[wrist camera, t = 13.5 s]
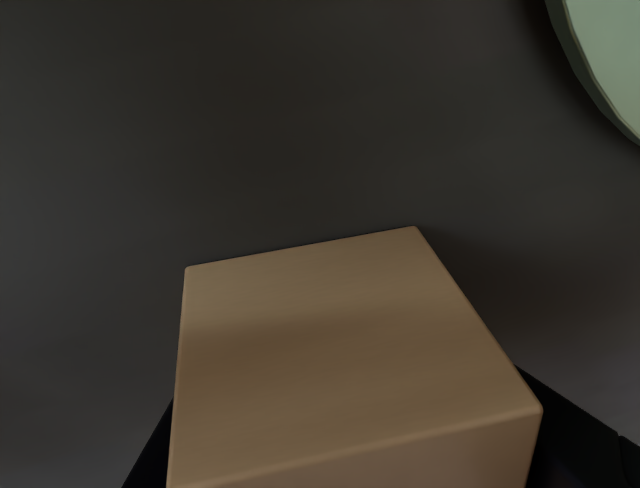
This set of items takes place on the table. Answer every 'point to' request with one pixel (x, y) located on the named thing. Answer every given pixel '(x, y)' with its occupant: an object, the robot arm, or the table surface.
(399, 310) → the cube
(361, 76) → the table surface
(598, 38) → the lid
